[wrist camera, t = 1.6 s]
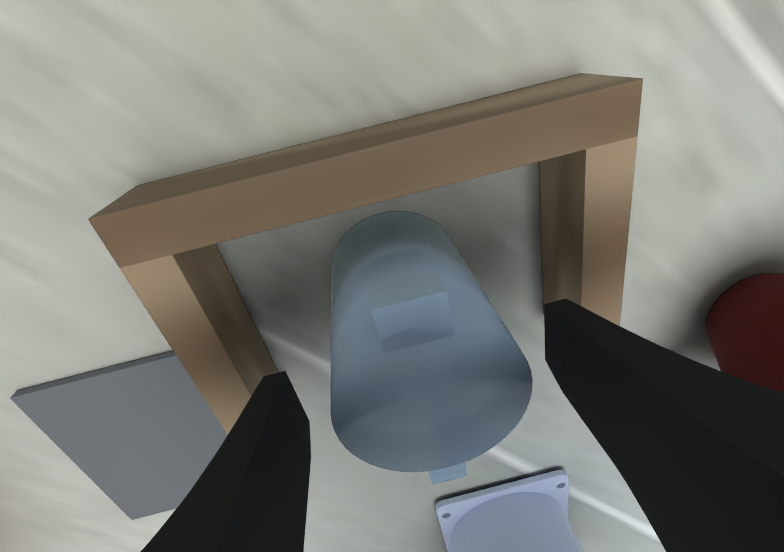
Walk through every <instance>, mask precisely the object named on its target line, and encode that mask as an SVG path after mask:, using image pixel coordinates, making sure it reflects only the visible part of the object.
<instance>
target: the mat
mask: <svg viewBox="0 0 784 552" xmlns="http://www.w3.org/2000/svg"><path fill="white" fill-rule="evenodd" d="M10 399H11V400H12V401H13V402H14V403H15V404H16V405H17V406H18V407H19V408H20V409H21V410H22V411H23V412H24V413H25V414H26V415H27V416H28V417H29V418H30V419H31V420H32V421H33V422H34V423H35V424H36V425H37V426H38V427H39V428H40V429H41V430H42V431H43V432H44V433H45V434H46V435H47V436H48V437H49V438H50V439H51V440H52V441H53V442H54V443H55V444H56V445H57V446H58V447H59V448H60V449H61V450H62V451H63V452H64V453H65V454H66V455H67V456H68V457H69V458H70V459H71V460H72V461H73V462H74V463H75V464H76V465H77V466H78V467H79V468H80V469H81V470H82V471H83V472H84V473H85V474H86V475H87V476H88V477H89V478H90V479H91V480H92V481H93V482H94V483H95V484H96V485H97V486H98V487H99V488H100V489H101V490H102V491H103V492H104V493H105V494H106V495H107V496H108V497H109V498H110V499H111V500H112V501H113V502H114V503H115V504H116V505H117V506H118V507H119V508H120V509H121V510H122V511H123V512H124V513H125V514H126V515H127V516H128V517H129V518H130V519H131V520H133V519H137V518H141V517H145V516H149V515H153V514H156V513H160V512H164V511H168V510H172V509H176V508H177V507H178V506H179V505H180V503H181V502H182V501H183V499H184V498H185V497H186V496H187V494H188V493H189V491H190V490H191V489H192V487H193V486H194V485H195V483H196V482H197V480H198V479H199V477H200V476H201V475H202V473H203V472H204V470H205V469H206V467H207V466H208V464H209V463H210V461H211V460H212V458H213V457H214V455H215V454H216V453H217V451H218V449H219V448H220V446H221V445H222V443H223V442H224V440H225V438H226V437H227V433H226V431H225V430H224V428H223V427H222V425H221V424H220V422H219V421H218V419H217V418H216V416H215V414H214V413H213V411H212V410H211V408H210V407H209V405H208V404H207V402H206V401H205V399H204V397H203V396H202V394H201V393H200V391H199V390H198V388H197V387H196V385H195V384H194V382H193V380H192V379H191V377H190V376H189V374H188V373H187V371H186V370H185V368H184V367H183V365H182V363H181V362H180V360H179V359H178V357H177V356H176V354H175V353H174V351H170V352H166V353H162V354H158V355H154V356H150V357H146V358H142V359H138V360H135V361H131V362H127V363H123V364H119V365H115V366H111V367H107V368H103V369H100V370H96V371H92V372H88V373H84V374H80V375H76V376H72V377H68V378H64V379H61V380H57V381H53V382H49V383H45V384H41V385H37V386H33V387H29V388H25V389H22V390H18V391H16V392H15V393H14V394H13V395H12V396H11V398H10Z"/></svg>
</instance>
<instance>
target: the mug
mask: <svg viewBox="0 0 784 552" xmlns="http://www.w3.org/2000/svg"><path fill="white" fill-rule="evenodd" d="M706 327H707V333H708V336H709V339H710V342H711V344H712V347H713V350H714V353H715V356H716V359H717V361H718V364H719V367H720V370H721V372H724V373H727V374H729V375H732V376H735V377H738V378H740V379H743V380H746V381H749V382H751V383H754V384H757V385H760V386H763V387H766V388H769V389H772V390H776V391H779V392H782V393H784V273H766V274H759V275H755V276H752V277H749V278H747V279H745V280H743V281H741V282H739V283H737V284H736V285H734V286H733V287H731V288H730V289H729V290H727V291H726V292H725V293H724V294H723V295H722V296H721V297H720V298H719V299H718V300H717V302H716V303H715V304H714V306H713V307H712V309H711V311H710V313H709V315H708V318H707V324H706Z"/></svg>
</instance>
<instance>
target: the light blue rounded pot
mask: <svg viewBox="0 0 784 552" xmlns="http://www.w3.org/2000/svg"><path fill="white" fill-rule="evenodd" d="M531 392H532V375H531V370H530V367H529V364H528V361H527V360H526V358H525V356H524V354H523V353H522V351H521V350H520V348H519V346H518V345H517V343H516V342H515V340H514V339H513V337H512V335H511V334H510V332H509V331H508V329H507V328H506V326H505V324H504V323H503V321H502V320H501V318H500V317H499V315H498V313H497V312H496V310H495V309H494V307H493V306H492V304H491V302H490V301H489V299H488V298H487V296H486V295H485V293H484V291H483V290H482V288H481V287H480V285H479V284H478V282H477V280H476V279H475V277H474V276H473V274H472V273H471V271H470V269H469V268H468V266H467V265H466V263H465V262H464V260H463V258H462V257H461V255H460V254H459V252H458V251H457V249H456V247H455V246H454V244H453V243H452V241H451V240H450V238H449V236H448V235H447V234H446V233H445V231H444V230H443V229H442V228H441V227H440V226H439V225H438V224H436V223H435V222H434V221H432V220H431V219H429V218H427V217H425V216H422V215H419V214H416V213H412V212H406V211H391V212H385V213H380V214H377V215H374V216H371V217H369V218H367V219H364V220H363V221H361V222H360V223H358V224H356V225H355V226H354V227H353V228H352V229H350V230H349V231H348V232H347V233H346V234H345V236H344V237H343V238H342V240H341V241H340V242H339V244H338V246H337V248H336V250H335V253H334V255H333V259H332V264H331V419H332V424H333V427H334V430H335V433H336V435H337V436H338V438H339V440H340V441H341V443H342V444H343V445H344V446H345V447H346V448H347V449H348V450H349V451H350V452H351V453H352V454H353V455H355V456H356V457H358V458H359V459H361V460H363V461H365V462H367V463H369V464H371V465H374V466H377V467H380V468H384V469H388V470H394V471H401V472H424V471H429V475H430V478H431V482H432V485H433V484H437V483H441V482H445V481H448V480H452V479H456V478H460V477H464V476H467V473H466V468H465V463H464V462H466V461H468V460H471V459H473V458H475V457H477V456H479V455H481V454H483V453H484V452H486V451H487V450H489V449H491V448H492V447H493V446H495V445H496V444H498V443H499V442H500V441H501V440H502V439H504V438H505V437H506V436H507V435H508V434H509V433H510V432H511V431H512V430H513V429H514V427H515V426H516V425H517V424H518V422H519V421H520V419H521V418H522V416H523V414H524V413H525V411H526V409H527V406H528V404H529V401H530V397H531Z"/></svg>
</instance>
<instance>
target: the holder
mask: <svg viewBox="0 0 784 552" xmlns="http://www.w3.org/2000/svg"><path fill="white" fill-rule="evenodd" d="M642 83H643V78H631V77H619V76H607V75H595V74H582V73H581V74H577V75H573V76H569V77H565V78H561V79H557V80H553V81H549V82H545V83H542V84H538V85H534V86H530V87H526V88H522V89H518V90H514V91H510V92H506V93H502V94H498V95H494V96H490V97H486V98H482V99H478V100H474V101H470V102H466V103H462V104H458V105H455V106H451V107H447V108H443V109H439V110H435V111H431V112H427V113H423V114H419V115H415V116H411V117H407V118H403V119H399V120H395V121H391V122H387V123H383V124H379V125H375V126H371V127H368V128H364V129H360V130H356V131H352V132H348V133H344V134H340V135H336V136H332V137H328V138H324V139H320V140H316V141H312V142H308V143H304V144H300V145H296V146H292V147H288V148H284V149H281V150H277V151H273V152H269V153H265V154H261V155H257V156H253V157H249V158H245V159H241V160H237V161H233V162H229V163H225V164H221V165H217V166H213V167H209V168H205V169H201V170H197V171H194V172H190V173H186V174H182V175H178V176H174V177H170V178H166V179H162V180H158V181H154V182H150V183H146V184H142V185H138V186H136V187H134V188H133V189H131V190H130V191H128V192H127V193H125V194H124V195H122V196H121V197H120V198H118V199H117V200H115V201H114V202H112V203H111V204H109V205H108V206H106V207H105V208H103V209H102V210H101V211H99V212H98V213H96V214H95V215H93V216H92V217H90V218H89V219H88V220H89V221H90V223H91V225H92V226H93V228H94V229H95V231H96V232H97V234H98V235H99V237H100V238H101V240H102V242H103V243H104V245H105V246H106V248H107V249H108V251H109V252H110V254H111V255H112V257H113V259H114V260H115V262H116V263H117V265H118V266H119V268H120V269H121V271H122V272H123V274H124V275H125V277H126V279H127V280H128V282H129V283H130V285H131V286H132V288H133V289H134V291H135V292H136V294H137V296H138V297H139V299H140V300H141V302H142V303H143V305H144V306H145V308H146V309H147V311H148V313H149V314H150V316H151V317H152V319H153V320H154V322H155V323H156V325H157V326H158V328H159V330H160V331H161V333H162V334H163V336H164V337H165V339H166V340H167V342H168V343H169V345H170V347H171V348H172V350H173V351H174V353H175V354H176V356H177V357H178V359H179V360H180V362H181V363H182V365H183V367H184V368H185V370H186V371H187V373H188V374H189V376H190V377H191V379H192V380H193V382H194V384H195V385H196V387H197V388H198V390H199V391H200V393H201V394H202V396H203V397H204V399H205V401H206V402H207V404H208V405H209V407H210V408H211V410H212V411H213V413H214V414H215V416H216V418H217V419H218V421H219V422H220V424H221V425H222V427H223V428H224V430H225V431H226V433H227V435H228V434H229V432H230V430H231V429H232V427H233V426H234V424H235V422H236V421H237V419H238V417H239V416H240V414H241V412H242V411H243V409H244V407H245V406H246V404H247V402H248V401H249V399H250V397H251V396H252V394H253V392H254V391H255V389H256V387H257V386H258V384H259V383H260V381H261V379H262V378H263V376H267V375H271V374H275V373H278V371H277V369H276V367H275V365H274V363H273V361H272V359H271V357H270V354H269V352H268V350H267V348H266V346H265V344H264V342H263V340H262V338H261V336H260V334H259V332H258V330H257V328H256V326H255V324H254V322H253V320H252V318H251V316H250V314H249V312H248V310H247V308H246V306H245V303H244V301H243V299H242V297H241V295H240V293H239V291H238V289H237V287H236V285H235V283H234V281H233V279H232V277H231V275H230V273H229V271H228V269H227V267H226V265H225V263H224V261H223V259H222V257H221V254H220V252H219V250H218V248H217V246H216V243H220V242H224V241H228V240H232V239H236V238H240V237H244V236H248V235H251V234H255V233H259V232H263V231H267V230H271V229H275V228H279V227H283V226H287V225H291V224H295V223H299V222H303V221H306V220H310V219H314V218H318V217H322V216H326V215H330V214H334V213H338V212H342V211H346V210H350V209H354V208H358V207H361V206H365V205H369V204H373V203H377V202H381V201H385V200H389V199H393V198H397V197H401V196H405V195H409V194H413V193H416V192H420V191H424V190H428V189H432V188H436V187H440V186H444V185H448V184H452V183H456V182H460V181H464V180H468V179H471V178H475V177H479V176H483V175H487V174H491V173H495V172H499V171H503V170H507V169H511V168H515V167H519V166H523V165H526V164H530V163H534V162H538V161H539V165H540V201H541V237H542V274H543V310H544V304H546V303H550V302H554V301H558V300H562V299H565V298H566V299H568V300H570V301H572V302H574V303H576V304H578V305H580V306H582V307H584V308H586V309H588V310H590V311H591V312H593V313H595V314H597V315H599V316H601V317H603V318H605V319H607V320H609V321H611V322H612V323H614V324H616V325H618V326H620V317H621V306H622V296H623V285H624V274H625V264H626V253H627V243H628V232H629V221H630V211H631V200H632V189H633V179H634V168H635V157H636V147H637V136H638V125H639V115H640V104H641V93H642Z"/></svg>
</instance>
